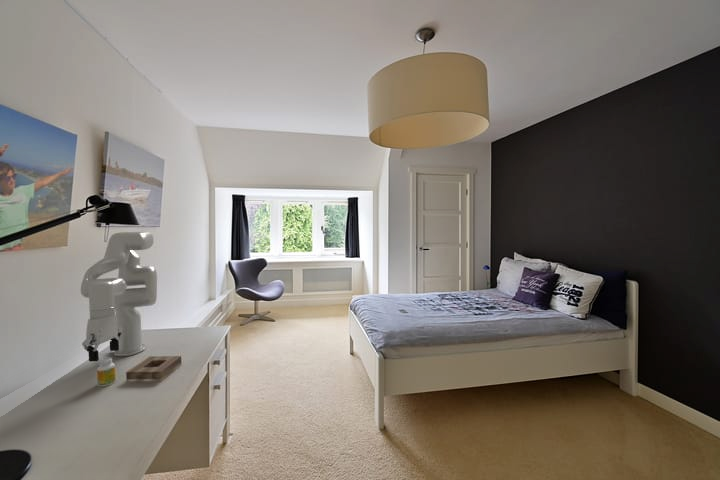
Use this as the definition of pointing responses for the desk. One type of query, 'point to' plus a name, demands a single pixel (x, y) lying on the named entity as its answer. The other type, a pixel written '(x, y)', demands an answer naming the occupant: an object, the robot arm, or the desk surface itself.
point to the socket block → (153, 368)
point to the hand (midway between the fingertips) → (104, 355)
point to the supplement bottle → (106, 372)
